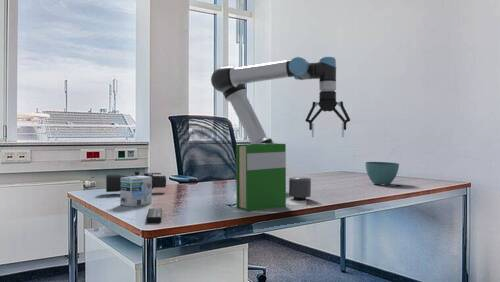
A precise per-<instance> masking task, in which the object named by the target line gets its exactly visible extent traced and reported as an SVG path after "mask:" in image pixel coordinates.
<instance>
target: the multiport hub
mask: <svg viewBox="0 0 500 282" xmlns="http://www.w3.org/2000/svg"><path fill="white" fill-rule="evenodd" d="M162 216H163V208H158V207H157V208H148V212H147V215H146V224H161V223H162V219H163V218H162Z"/></svg>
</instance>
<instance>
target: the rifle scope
mask: <svg viewBox="0 0 500 282" xmlns="http://www.w3.org/2000/svg"><path fill="white" fill-rule="evenodd" d="M161 174H162V173H161V172H152V173H151V172H146V173H145V172H144V173H143V174H141V176H149V177H152V190H153V189H156V188H158V189H159V188H166V187H167V177H166V175H161ZM132 176H140V171H134V175H130V176H129V175H123V174H106V176H105V177H106V182H105V184H106V185H105V188H106V189H105V191H106V193H113V192H114V193H115V192H116V193H117V192H120V187H121V178H122V177H132Z"/></svg>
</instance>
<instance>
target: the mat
mask: <svg viewBox="0 0 500 282" xmlns="http://www.w3.org/2000/svg"><path fill="white" fill-rule="evenodd" d="M287 205H288V206H289V205H290V206H291V205H292V206H293V205H294V206H307V199H306V200H303V201H299V200H294V197H286V206H287Z"/></svg>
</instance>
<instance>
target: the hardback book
mask: <svg viewBox="0 0 500 282" xmlns="http://www.w3.org/2000/svg"><path fill="white" fill-rule="evenodd" d="M286 147H287V145H286V143H275V142H273V143H269V144H251V143H248V144H247V143H245V144H241V143H240V144H235V165H236V166H235V168H236V172H235V173H236V176H235V178H236V179H235V181H236V182H235V183H236V185H235V187H236V189H235V190H236V208H237V209H241V208H242V209H245V212H247V213H251V212H252V211H260V210H267V209H275V208H283V207H284V208H285V207H287V205H286V198H287V190H286V189H287V183H286V182H287V181H286V179H287V177H286V176H287V173H286V172H287V168H286V167H287V164H286V163H287V162H286V159H287V158H286V157H287V155H286V150H287V149H286Z"/></svg>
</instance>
